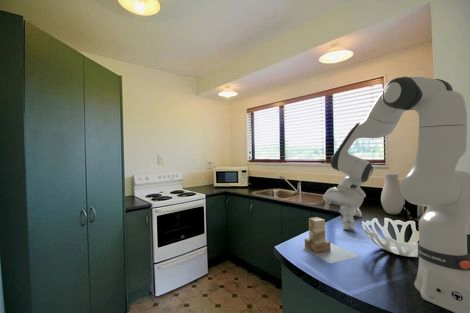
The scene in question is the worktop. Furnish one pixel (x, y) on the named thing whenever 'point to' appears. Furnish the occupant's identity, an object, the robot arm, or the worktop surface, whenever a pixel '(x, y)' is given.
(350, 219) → the grey statuette
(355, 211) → the pale grey lumpy piece
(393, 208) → the vase
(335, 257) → the pale flat sheet
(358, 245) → the worktop surface
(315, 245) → the walnut plinth
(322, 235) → the birch column
